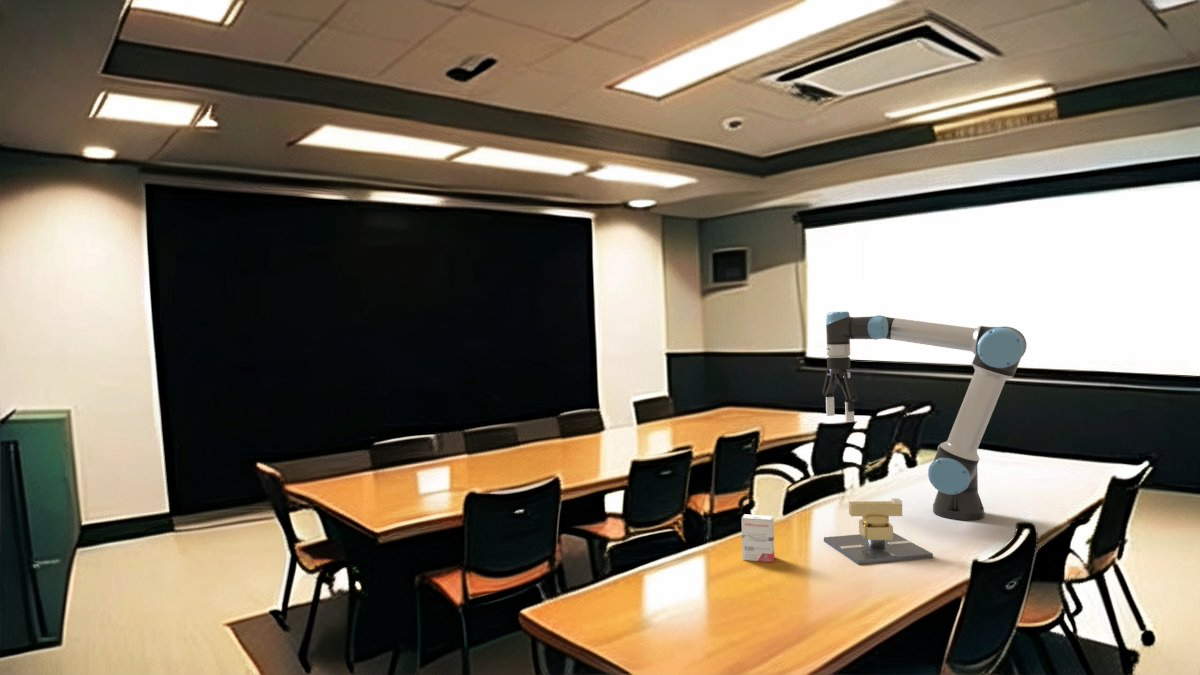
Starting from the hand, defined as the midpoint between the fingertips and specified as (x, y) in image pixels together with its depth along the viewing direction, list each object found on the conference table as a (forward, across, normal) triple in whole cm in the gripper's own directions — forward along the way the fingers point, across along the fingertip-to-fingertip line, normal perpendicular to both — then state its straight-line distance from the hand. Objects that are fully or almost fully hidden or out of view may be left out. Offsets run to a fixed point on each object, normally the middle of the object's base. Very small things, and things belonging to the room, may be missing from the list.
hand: (839, 418), depth 238 cm
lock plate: (+32, +39, -10) cm, 51 cm away
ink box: (+32, +38, -45) cm, 67 cm away
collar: (+28, +39, -10) cm, 49 cm away
